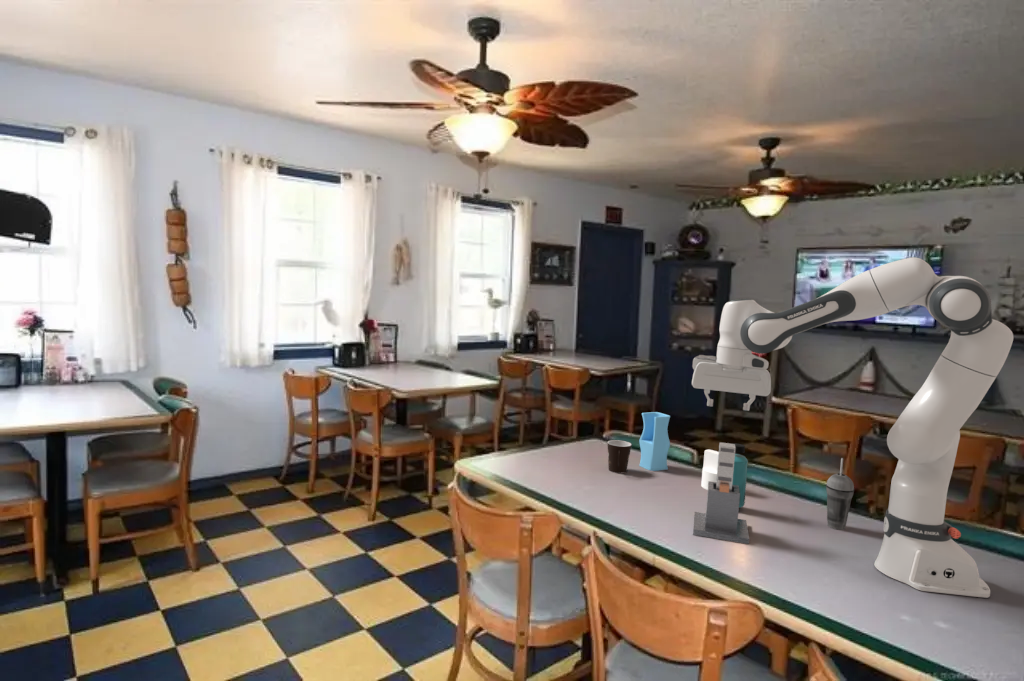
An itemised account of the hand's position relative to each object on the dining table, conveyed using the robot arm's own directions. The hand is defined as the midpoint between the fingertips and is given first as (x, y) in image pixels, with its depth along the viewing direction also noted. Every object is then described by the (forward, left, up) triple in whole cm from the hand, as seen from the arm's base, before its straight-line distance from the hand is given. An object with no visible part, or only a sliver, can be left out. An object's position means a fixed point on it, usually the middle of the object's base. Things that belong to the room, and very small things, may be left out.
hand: (727, 408), depth 162 cm
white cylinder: (0, -38, -34) cm, 51 cm away
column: (-1, +1, -32) cm, 32 cm away
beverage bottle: (-5, -19, -34) cm, 40 cm away
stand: (-1, +1, -34) cm, 34 cm away
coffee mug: (+34, -40, -34) cm, 63 cm away
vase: (+22, -52, -34) cm, 66 cm away
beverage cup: (-33, -17, -34) cm, 50 cm away
